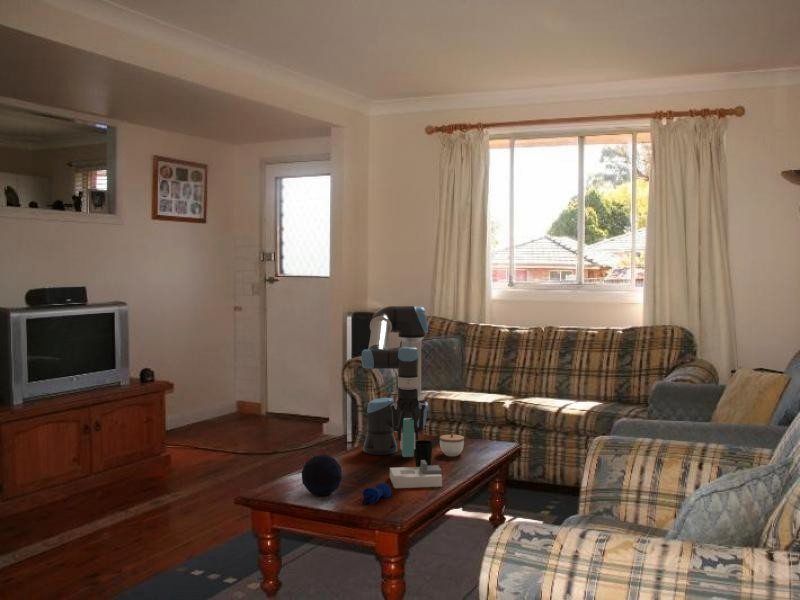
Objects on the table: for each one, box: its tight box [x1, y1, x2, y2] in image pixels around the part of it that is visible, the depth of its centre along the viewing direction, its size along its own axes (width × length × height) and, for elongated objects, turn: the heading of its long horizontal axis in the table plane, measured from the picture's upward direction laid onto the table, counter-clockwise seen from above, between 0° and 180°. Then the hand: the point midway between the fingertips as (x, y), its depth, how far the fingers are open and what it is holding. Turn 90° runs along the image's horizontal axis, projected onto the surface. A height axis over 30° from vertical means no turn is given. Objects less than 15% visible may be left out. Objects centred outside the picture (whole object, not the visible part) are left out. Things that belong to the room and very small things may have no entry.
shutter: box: [420, 460, 443, 474], centre depth 301 cm, size 7×7×4 cm
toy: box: [362, 482, 392, 507], centre depth 280 cm, size 7×6×15 cm
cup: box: [414, 439, 434, 467], centre depth 315 cm, size 8×8×12 cm
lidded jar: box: [439, 432, 465, 457], centre depth 343 cm, size 11×11×9 cm
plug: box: [401, 418, 415, 458], centre depth 300 cm, size 4×4×14 cm
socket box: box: [389, 466, 443, 489], centre depth 301 cm, size 14×18×4 cm
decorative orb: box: [301, 454, 343, 497], centre depth 285 cm, size 14×15×15 cm
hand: (407, 448), depth 300 cm, fingers closed on plug, 4 cm apart
